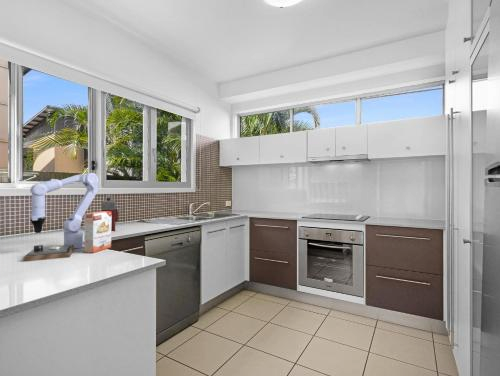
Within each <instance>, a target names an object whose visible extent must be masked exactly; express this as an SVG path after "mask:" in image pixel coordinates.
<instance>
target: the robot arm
mask: <svg viewBox="0 0 500 376" xmlns="http://www.w3.org/2000/svg"><path fill="white" fill-rule="evenodd" d="M99 181H100V180H99V177H98V175H97V174H96V173H94V172H90V173H89V172H88V173H87V172H86V173H81V174H75V175H72V176H69V177H67V178H66V177H65V178H63V179H57V178H55V179H54V178H51V179H50V180H48V181H41V182H40V183H36V184H33V185H32V186H31V187H30V189H29V191H30V193H31V198H30V199H31V200H30V201H31V207H30V209H31V210H30V211H31V212H30V213H31V214H29V215H28V216H27V217H28V218H31V220H30V223H31V224H32V226H33V229H34V232H35V234H40V233H42V229H43V226H44V223H45V221H46V220H47V219H46V218H45V217H46V193H51V192H54V191H57V190H61V189H62V187H63V186H66V185H70V184H72V183H73V184H74V183H77V182H78V183H82V184H83V185H84V186H85V189H86V191H85V193H84V195H83V196H82V198H81V200H80V201H79V202H78V204H77V206H76V208H75V210H74V211H73V212H72V214H71V215H70V216H68V218H67V219H66V220H65V221H63V223H62V228H63V229H64V231H63V245H71V246H72V245H74V249H82V248H84V232H83V231H80V229H81V224H82V222H83V217H84V216H85V213H86V211H87V210H88V208H89V206H90V205H91V204H92V202H93V200H94V199H95V197H96V195H97V194H98V192H99Z"/></svg>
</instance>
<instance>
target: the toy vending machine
mask: <svg viewBox="0 0 500 376" xmlns="http://www.w3.org/2000/svg"><path fill="white" fill-rule="evenodd" d="M102 211H110V212H112V223H111V231H115V232H116V223H117V222H119V210H118V208H117V207H116V201H115V200H113V199H112V200H111V194H106V200H102V201H101V212H102Z"/></svg>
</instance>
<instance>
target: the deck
mask: <svg viewBox="0 0 500 376" xmlns="http://www.w3.org/2000/svg"><path fill="white" fill-rule="evenodd" d="M70 247H71V245H64V244H63V245H62V244H61V245H50V246H44V244H38V245H34V246H33V249H32V250H33V251H32V250H30V251H29V252H30V253H29V252H28V253H29V256H33V255H43V254H54V253H64V252H67V251H68V250H69V248H70Z"/></svg>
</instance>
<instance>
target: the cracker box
mask: <svg viewBox="0 0 500 376" xmlns="http://www.w3.org/2000/svg"><path fill="white" fill-rule="evenodd" d="M111 223H112V212H110V211H102V210H101V211H96V212H94V211H93V212H87V213H86V212H85V213H84V233H83V241H84V244H83V248H84V250H83V251H84V253H88V254H93V253H94V254H95V253H97V252H101V251H104V250H107V249H110V248H112V232H111Z"/></svg>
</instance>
